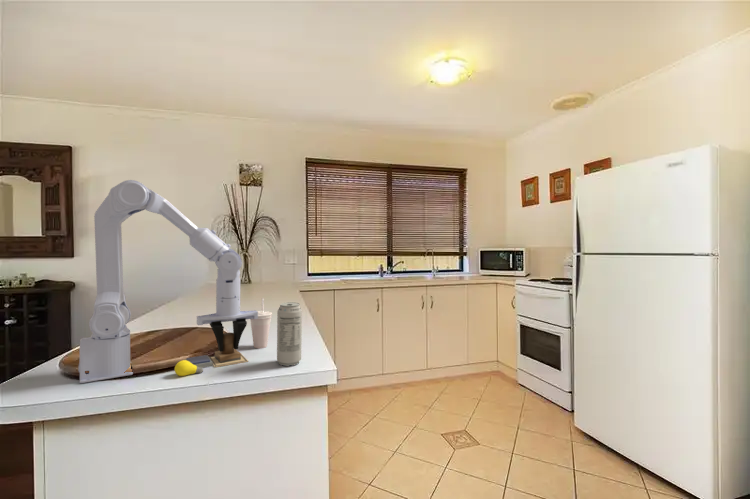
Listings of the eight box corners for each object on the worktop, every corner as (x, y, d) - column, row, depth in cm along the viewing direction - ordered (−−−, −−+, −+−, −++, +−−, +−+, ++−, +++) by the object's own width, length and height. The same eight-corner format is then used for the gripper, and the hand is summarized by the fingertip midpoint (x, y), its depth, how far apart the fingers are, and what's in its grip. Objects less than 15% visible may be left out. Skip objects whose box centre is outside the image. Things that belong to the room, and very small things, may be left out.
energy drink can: (302, 358, 98) (302, 301, 97) (300, 366, 92) (301, 306, 91) (278, 359, 97) (279, 301, 97) (275, 367, 91) (275, 306, 91)
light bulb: (171, 375, 85) (176, 359, 86) (199, 378, 88) (204, 362, 89) (172, 375, 82) (177, 358, 84) (201, 378, 85) (206, 362, 86)
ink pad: (187, 370, 88) (187, 364, 88) (184, 363, 92) (184, 357, 92) (212, 366, 91) (212, 360, 91) (208, 359, 96) (208, 354, 96)
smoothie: (268, 350, 104) (268, 300, 104) (245, 349, 104) (245, 300, 104) (274, 343, 111) (275, 296, 110) (253, 343, 111) (253, 296, 110)
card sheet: (214, 367, 90) (214, 366, 90) (208, 358, 97) (208, 357, 97) (248, 361, 95) (248, 360, 95) (240, 353, 101) (240, 352, 101)
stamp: (220, 363, 93) (220, 337, 92) (214, 357, 96) (214, 333, 96) (240, 359, 96) (240, 334, 95) (234, 354, 100) (234, 330, 99)
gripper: (252, 292, 102) (252, 341, 103) (194, 296, 94) (194, 349, 95) (260, 296, 97) (260, 348, 97) (199, 301, 88) (199, 357, 89)
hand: (228, 349), depth 96 cm, fingers closed on stamp, 3 cm apart
